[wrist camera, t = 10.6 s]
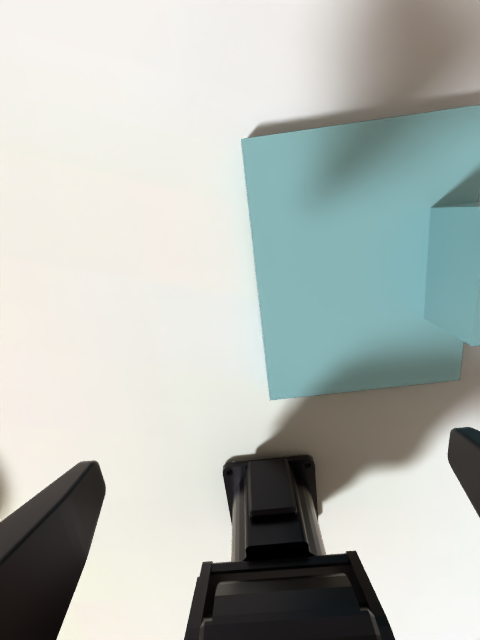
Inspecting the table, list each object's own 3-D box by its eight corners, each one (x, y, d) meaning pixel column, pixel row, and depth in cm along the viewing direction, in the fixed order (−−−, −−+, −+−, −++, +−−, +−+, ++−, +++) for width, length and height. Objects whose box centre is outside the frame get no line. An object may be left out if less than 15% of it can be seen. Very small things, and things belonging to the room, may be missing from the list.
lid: (444, 367, 21) (512, 420, 16) (268, 386, 22) (277, 444, 16) (466, 113, 16) (574, 66, 11) (241, 145, 17) (241, 115, 12)
